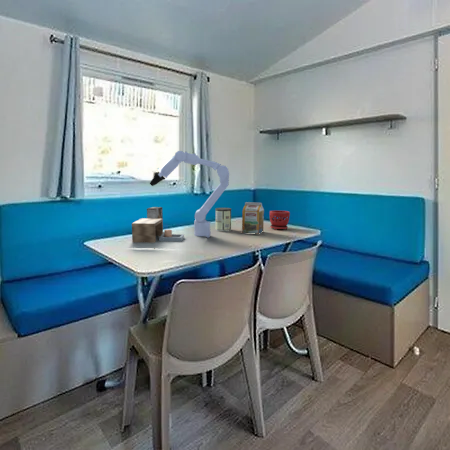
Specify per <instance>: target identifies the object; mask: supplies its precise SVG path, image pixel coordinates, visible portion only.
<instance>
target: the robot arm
mask: <svg viewBox="0 0 450 450" xmlns="http://www.w3.org/2000/svg"><path fill="white" fill-rule="evenodd" d="M182 162H184V163H185V164H189V165H193V166H196V165H198V164H200V165H201V166H206V167H209V168H212V170H214V171H216V174H217V176H218V177H219V178H218V179H219V184H218V185H217V187H216V188H215V189H214V191H213V192H212V193H211V194H210V196H209V197H208V198H207V199H206V201H205V202H204V203H203V204H202V206H201V207H200V208H199V209H197V210H196V211H195V213H194V219H195V220H193V221H194V223H193V229H194V230H193V232H194V233H193V234H194V236H195V237H205V238H210V237H211V221H207V220H206V217H207V214H208V213H209V211H210V210H211V209H212V207H213V206H214V205H215V203H216V202H218V199H219V198H220V197H221V196H222V194H223V193H224V192H225V190H227V188H228V186H229V183H230V182H229V181H230V172H229V168H228V166H226V165H222V164H221V163H219V162H217V161H212V160H209V159H208V160H207V159H204V158H200V156H199V155H197V153H195V152H194V153H189V152H188V151H185V152H184V151H183V150H177V151H176V152H175V154H174V155H173V156H172V157H171V158H169V160H168V161H166V163H164V165H163V166H162V167H160V168H159V167H158V168H157V170H158V172H155V173H154V176H153V177H152V179H151V181H150V182H149V185H151V187H154V186H156V185H157V184H159V183H160V182H162V181H164V180H166V179H167V178H168V176H169V175H170V174H172V172H173V171H174V170H176V169H177V167H178V166H179V165H180V164H181V163H182Z"/></svg>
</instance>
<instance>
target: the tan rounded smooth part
mask: <svg viewBox="0 0 450 450" xmlns="http://www.w3.org/2000/svg"><path fill="white" fill-rule="evenodd" d="M163 234H164V236H165V237H172V234H173V230H172V229H163Z"/></svg>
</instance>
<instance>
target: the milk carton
mask: <svg viewBox="0 0 450 450" xmlns="http://www.w3.org/2000/svg"><path fill="white" fill-rule="evenodd" d="M264 214H265V209H264V207H263V203H262V202H250V201H248V202H247V201H246V202H244V206H243V208H242V217H241V220H242V221H241V234H242V233H255V234H259V233H261V232H262V231H263V232H264V221H265V219H264V218H265V217H264ZM261 234H262V233H261ZM259 235H260V234H259Z"/></svg>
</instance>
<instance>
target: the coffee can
mask: <svg viewBox="0 0 450 450" xmlns="http://www.w3.org/2000/svg"><path fill="white" fill-rule="evenodd" d="M229 230H230V231H232V208H230V207H216V208H215V231H218V232H230V231H229Z"/></svg>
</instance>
